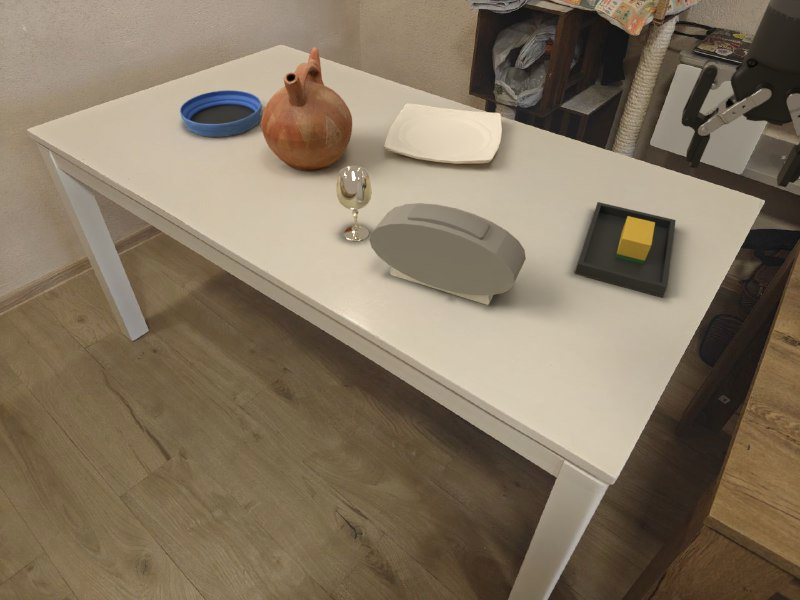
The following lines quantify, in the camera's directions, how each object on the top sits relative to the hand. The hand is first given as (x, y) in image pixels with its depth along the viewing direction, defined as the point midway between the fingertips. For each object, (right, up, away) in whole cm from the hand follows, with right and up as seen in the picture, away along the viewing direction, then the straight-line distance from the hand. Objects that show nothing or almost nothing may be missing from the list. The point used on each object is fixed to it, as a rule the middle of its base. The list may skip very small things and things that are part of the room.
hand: (736, 173), depth 58 cm
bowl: (-77, +28, +69) cm, 107 cm away
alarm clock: (-29, -10, +30) cm, 43 cm away
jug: (-54, +17, +58) cm, 81 cm away
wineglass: (-43, -2, +38) cm, 58 cm away
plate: (-26, +22, +64) cm, 72 cm away
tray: (+3, -5, +36) cm, 36 cm away
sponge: (+4, -5, +35) cm, 36 cm away
